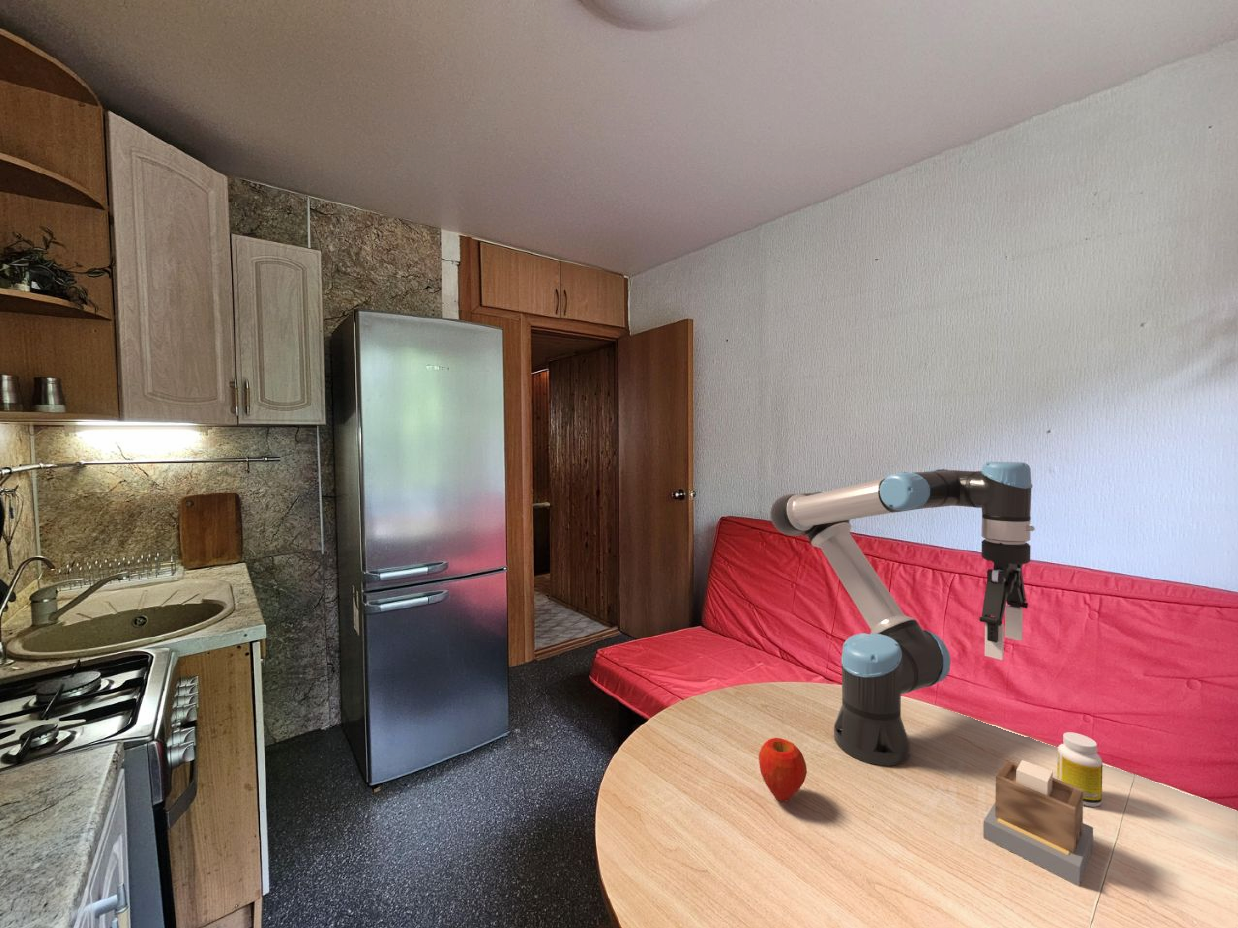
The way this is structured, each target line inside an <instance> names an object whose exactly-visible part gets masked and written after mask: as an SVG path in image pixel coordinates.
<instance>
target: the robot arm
mask: <svg viewBox="0 0 1238 928" xmlns="http://www.w3.org/2000/svg"><path fill="white" fill-rule="evenodd" d="M1031 471H1032V470H1031V467H1030V465H1029V464H1028V463H1026V462H1022V461H987V462H984V463H983V464H982V467H981V470H976V471H975V470H974V471H972V470H956V469H955V470H953V469H944V468H942V469H940V468H939V469H928V470H926V471H916V472H915V471H914V472H910V471H903V472H898V473H893V474H890V475H888V476H887V477H883V478H881V479H880V478H879V479H875V480H870V481H867V482H863V483H858V484H854V485H850V486H848V485H847V486H844V487H840V488H836V489H831V490H827V491H814V492H809V493H805V492H804V493H790V494H785V495H783V496H780V497H779V498H777V499H776V500H775V501H774V503H772V506H771V508H770V513H769V515H770V520H771V523H772V525H773V526H774V528H775V529H776V530H777V531H778V532H780V533H782V534H783V535H786V536H793V537H797V536H805V537H807V539H808V541H809V543H810V544H811V545H812V547H815V548H819V549H821V551H822V553H823V554H824V556H825V558H826V559H827V561H828V562H829V565H830V566H831V568H832V569H833V571H834V572H835V574H836V576H837V577H838V579H839V580H840V582H841V583H842V585H843V587H844V588H845V590H846V591H847V593H848V595H849V596H850V599H851V600H852V601H853V603H854V605H855V606H856V607H857V609H858V611H859V613H860V614H861V616H862V618H863V619H864V621H865V623H866V624H867V626H868V627H869V629H870V633H869V634H868V633H866V632H864V633H863V632H862V633H858V634H854V635H852V636H849V637H848V638H847V639H845V641H844V643H843V645H842V653H841V658H840V659H841V661H840V663H841V691H842V692H841V697H842V698H841V699H842V701H841V707H840V708H839V711H838V714H837V717H836V720H835V722H834V724H833V739H834V741H835V743H836V745H837V747H838V748H840V749H841V750H842V751H843V752H845V753H846V754H847V755H849V756H851V757H852V758H856V759H857V760H860V761H862V762H865V763H867V764H868V763H869V764H873V765H878V766H897V765H901V764H904V763H905V762H907V761H908V760H909V759H910V756H911V744H910V740H909V737H908V734H907V731H906V728H905V725H904V722H903V719H902V715H901V713H902V712H901V709H902V704H901V703H902V700H901V699H902V695H904V694H908V693H911V692H915V691H916V690H917V691H918V690H920V689H923V688H924V689H925V688H929V687H930V688H931V687H932V686H934V685H937V683H940V682H941V681H943V680H945V679H946V677H947V676H948V674H949V672H950V670H951V662H952V661H951V655H950V652H949V649H948V647H947V645H946V644H945V642H944V641H943V640H942V638H940V636H938V635H937V634H935V633H933V632H931V631H929V630H927V629H923V628H922V627H921V625H920V624H919V622H918V621H917V619H916V618H915V617H911V616H908V615H905V614H904V612H903V610H902V609H901V607H900V606H899V604H898V603H897V601H896V600H895V599H894V597H893V596H892V594H891V593H890V591H889V589H888V588H887V586H886V585H885V583H884V582H883V581H882V579H881V578H880V576H879V575H878V573H877V572H876V570H875V569H874V567H873V566H872V565H871V563H870V562H869V560H868V558H867V557H866V555H865V554H864V552H862V549H861V548H860V547H859V544H857V541H855V539H854V538H853V536H852V535H851V529H852V524H851V523H850V521H851V520H854V519H862V518H868V517H869V518H870V517H873V516H881V515H886V514H893V513H901V512H908V511H909V512H910V511H915V510H922V509H932V508H933V509H934V508H943V507H953V506H954V507H967V508H975V509H977V508H979V509H981V533H980V534H981V535H980V536H981V537H982V538H983V540H981V558H982V559H984V560H986V561H988V562H989V561H990V562H992V563H993V567H992V569H990V568H989V569H987V571H986V584H985V590H984V596H983V597H984V598H983V603H982V604H983V605H982V613H981V616H979V619H978V620H979V622H980V623H981V622H982V623H984V657H988V658H992V659H996V660H1000V661H1004V649H1005V647H1004V646H1005V645H1004V640H1005V638H1007V639H1010V640H1016V641H1020V642H1023V633H1024V632H1023V621H1024V609H1028V608H1029V603H1028V602H1027V599H1026V591H1025V585H1024V584H1025V583H1024V574H1023V565H1027V564H1029V563H1030V562H1031V547H1032V546H1031V545H1030V544H1029V543H1028V542H1029V541H1031V532H1034V531H1035V527H1034V526H1033V525H1031V519H1032V517H1031V514H1032V513H1031V511H1032V509H1031V508H1032V507H1031V506H1032V488H1033V484H1032V474H1031V473H1032V472H1031ZM1003 619H1004V624H1003Z"/></svg>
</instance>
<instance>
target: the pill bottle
mask: <svg viewBox="0 0 1238 928" xmlns="http://www.w3.org/2000/svg"><path fill="white" fill-rule="evenodd" d="M1062 740H1063V741H1062V742H1063V743H1060V744H1059V745H1058V747H1057V760H1056V762H1057V764H1056V765H1057V770H1056V772H1057V773H1056V774H1057V775H1056V776H1057V777H1056V779H1057V780H1060V781H1063V782H1065V783H1068V784H1070V785H1073V786H1075V787H1078V788H1080V789H1083V806H1086V807H1100V806H1101V804H1102V801H1103V760H1102V758H1101V756H1100V755H1099V754H1098V753H1097V752H1098V744H1097V742H1096V741H1095V740H1094V739H1093V738H1090V737H1089V736H1087V735H1083V734H1082V733H1081V734H1080V733H1077V732H1073V731H1071V732H1070V731H1067V732H1064V733H1063V737H1062Z"/></svg>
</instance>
